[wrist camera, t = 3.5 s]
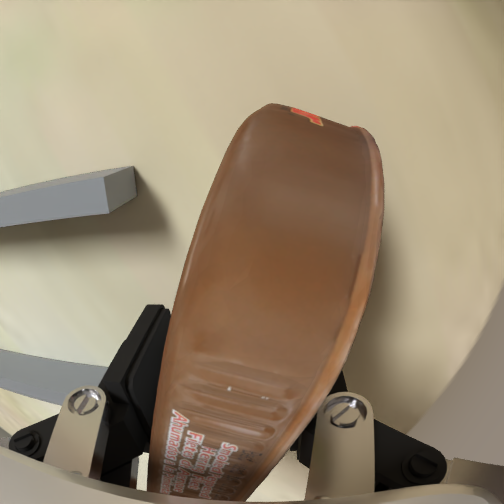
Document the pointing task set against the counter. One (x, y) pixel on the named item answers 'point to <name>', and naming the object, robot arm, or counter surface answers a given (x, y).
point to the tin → (265, 301)
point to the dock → (51, 208)
